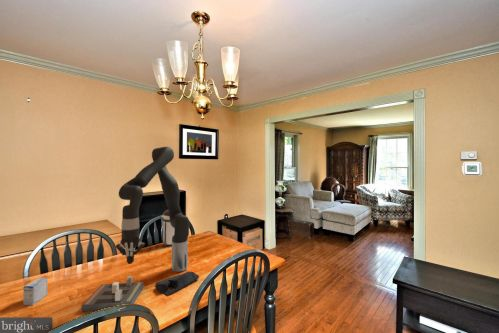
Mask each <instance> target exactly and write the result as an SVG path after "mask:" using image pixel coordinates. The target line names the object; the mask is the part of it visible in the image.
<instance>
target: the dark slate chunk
mask: <svg viewBox="0 0 499 333" xmlns="http://www.w3.org/2000/svg"><path fill="white" fill-rule="evenodd" d="M199 278H200V276H199V275H198V274H197V273H195V272H193V271H186V272H183V273H182V274H178V275H174V276H171V277H168V278H164V279H161V280H159V281H157V282H156V283H155V285H154V288H156V290H157V291H158V292H159V293H160V294H163V295H166V296H171V295H172V294H174V293H176V292H178V291H180V290H182V289H183V288H186V287H188V286H189V285H190V284H192V283H194V282H195V281H197V280H198V279H199ZM170 288H171V289H170Z"/></svg>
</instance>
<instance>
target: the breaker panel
mask: <svg viewBox="0 0 499 333" xmlns="http://www.w3.org/2000/svg"><path fill="white" fill-rule="evenodd" d="M133 277H134V276H133V275H128V276H127V277H126V282H124V283H123V282H121V283H120V282H119V290H117V291H116V292H115V293H112V284H113V283H105V284H100V285H99V287H98V288H96V289H95V291H94V292H93V293H92V294H91V295H90V296H89V297H88V298H87V299H86V300H85V302H83V303H82V304H81V313H88V312H87V311H91V312H98V311H97V310H101V309H104V308H108V307H113V306H117V305H122V304H135V303H136V301H137V299H138V298H139V296H140V295H141V292H142V291H143V289H144V281H140V282H139V281H137V282H134V281H133Z"/></svg>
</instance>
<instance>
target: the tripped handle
mask: <svg viewBox="0 0 499 333" xmlns="http://www.w3.org/2000/svg"><path fill="white" fill-rule="evenodd" d="M119 283H120V281H114V282H113V283H111V284H112V293H115V292H116V291H117V290H119Z"/></svg>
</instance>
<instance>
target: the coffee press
mask: <svg viewBox="0 0 499 333" xmlns="http://www.w3.org/2000/svg"><path fill="white" fill-rule="evenodd" d="M160 218H162V221H163V230H162V232H163V234H162V235H163V245H162V246H163V248H165V247H167V246H169V245H171V246H172V237H173V236H174V230H175V228H173V227H172V226H171V223H170V218H169V211H168V209H167V210H164V212H163V213H162V215H161V217H160Z"/></svg>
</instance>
